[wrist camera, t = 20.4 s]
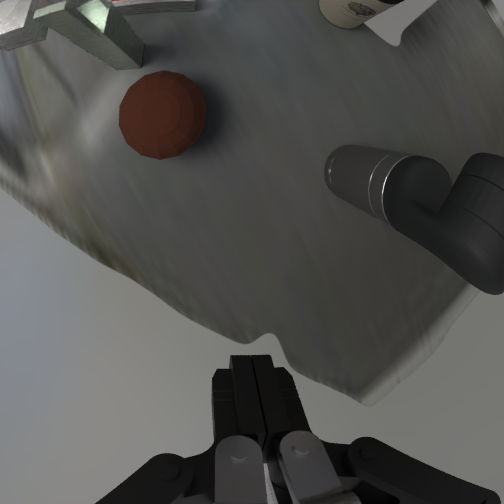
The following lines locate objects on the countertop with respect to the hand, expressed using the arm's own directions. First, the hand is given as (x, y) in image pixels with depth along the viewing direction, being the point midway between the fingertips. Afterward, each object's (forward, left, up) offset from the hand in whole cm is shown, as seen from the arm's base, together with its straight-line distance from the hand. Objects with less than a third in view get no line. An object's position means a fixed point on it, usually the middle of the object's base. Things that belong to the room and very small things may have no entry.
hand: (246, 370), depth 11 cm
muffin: (+8, -11, -36) cm, 38 cm away
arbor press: (+14, -32, -36) cm, 50 cm away
